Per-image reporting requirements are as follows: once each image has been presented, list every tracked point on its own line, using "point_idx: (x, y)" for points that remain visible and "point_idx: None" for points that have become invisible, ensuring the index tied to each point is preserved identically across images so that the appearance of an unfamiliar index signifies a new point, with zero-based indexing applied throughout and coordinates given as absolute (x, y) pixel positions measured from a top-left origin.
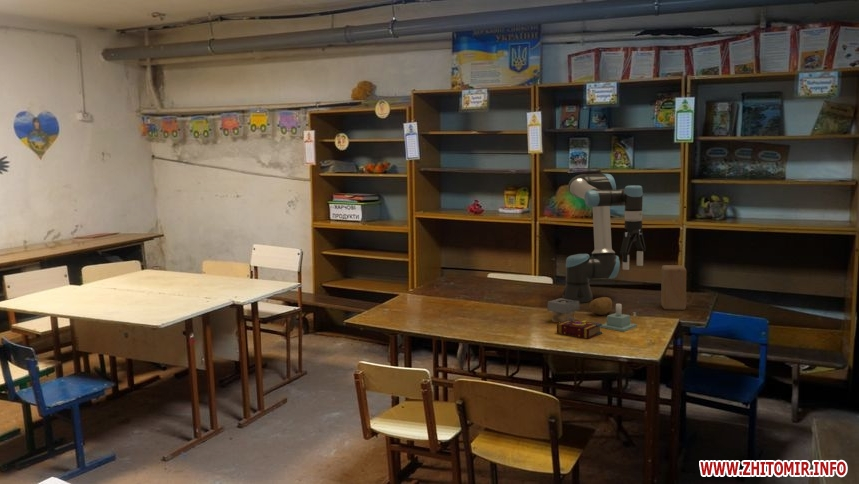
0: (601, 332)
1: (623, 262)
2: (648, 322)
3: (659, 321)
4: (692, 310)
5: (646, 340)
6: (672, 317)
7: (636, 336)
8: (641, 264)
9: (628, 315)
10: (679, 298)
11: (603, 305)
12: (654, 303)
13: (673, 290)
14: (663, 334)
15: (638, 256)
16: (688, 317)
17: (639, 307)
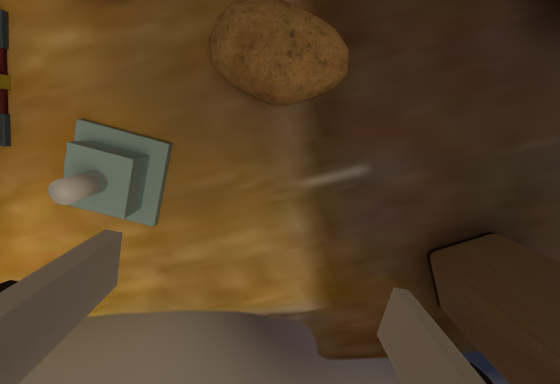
0: (4, 145)
1: (47, 273)
2: (229, 243)
3: (257, 269)
4: (442, 324)
5: (18, 280)
6: (326, 291)
7: (43, 248)
8: (383, 337)
9: (119, 213)
10: (460, 319)
11: (226, 78)
12: (524, 203)
13: (478, 322)
14: (109, 306)
15: (438, 380)
16: (343, 329)
17: (442, 170)
